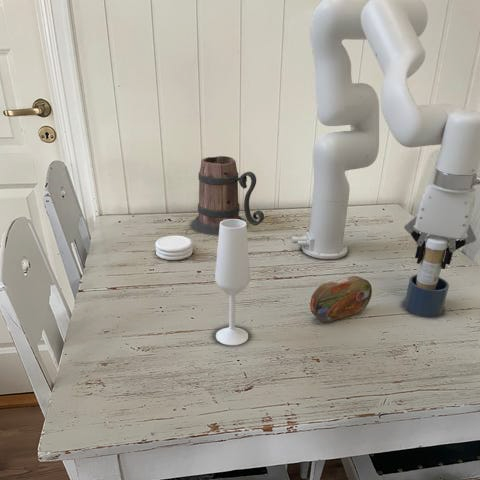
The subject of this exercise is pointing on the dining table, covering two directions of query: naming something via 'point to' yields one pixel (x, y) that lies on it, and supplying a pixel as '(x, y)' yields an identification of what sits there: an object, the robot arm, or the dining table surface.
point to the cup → (425, 298)
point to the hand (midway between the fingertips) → (431, 263)
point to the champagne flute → (232, 273)
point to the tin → (340, 298)
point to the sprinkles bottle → (432, 261)
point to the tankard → (222, 194)
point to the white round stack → (174, 247)
